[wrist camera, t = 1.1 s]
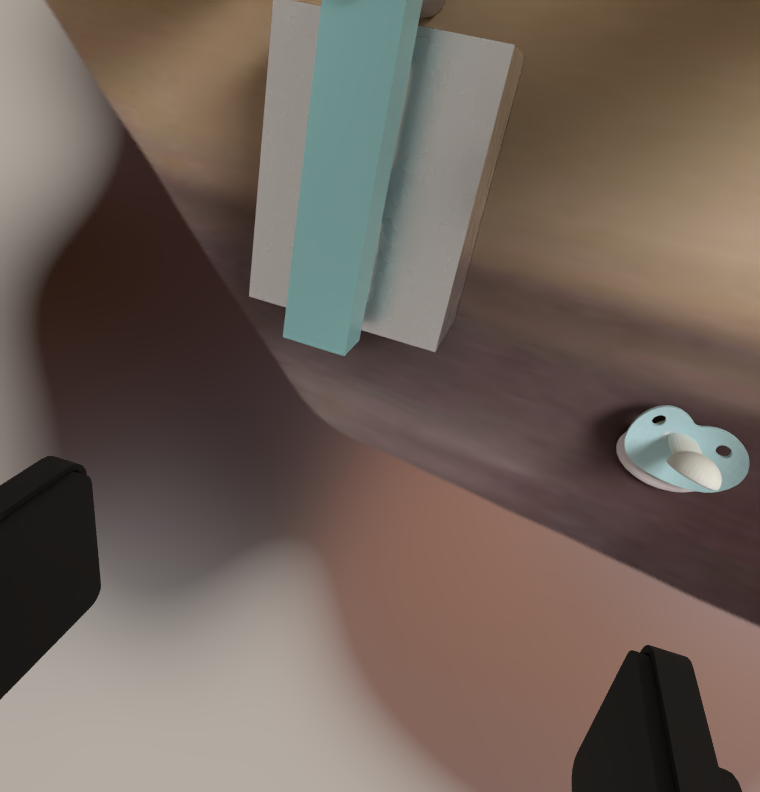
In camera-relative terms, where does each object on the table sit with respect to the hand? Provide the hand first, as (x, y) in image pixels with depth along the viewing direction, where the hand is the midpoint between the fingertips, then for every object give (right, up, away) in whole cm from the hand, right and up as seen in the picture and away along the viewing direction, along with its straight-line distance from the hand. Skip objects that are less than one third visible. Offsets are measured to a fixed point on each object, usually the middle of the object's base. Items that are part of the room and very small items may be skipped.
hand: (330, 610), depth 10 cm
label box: (+2, +17, +26) cm, 31 cm away
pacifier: (+20, 0, +29) cm, 35 cm away
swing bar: (+2, +18, +25) cm, 31 cm away
